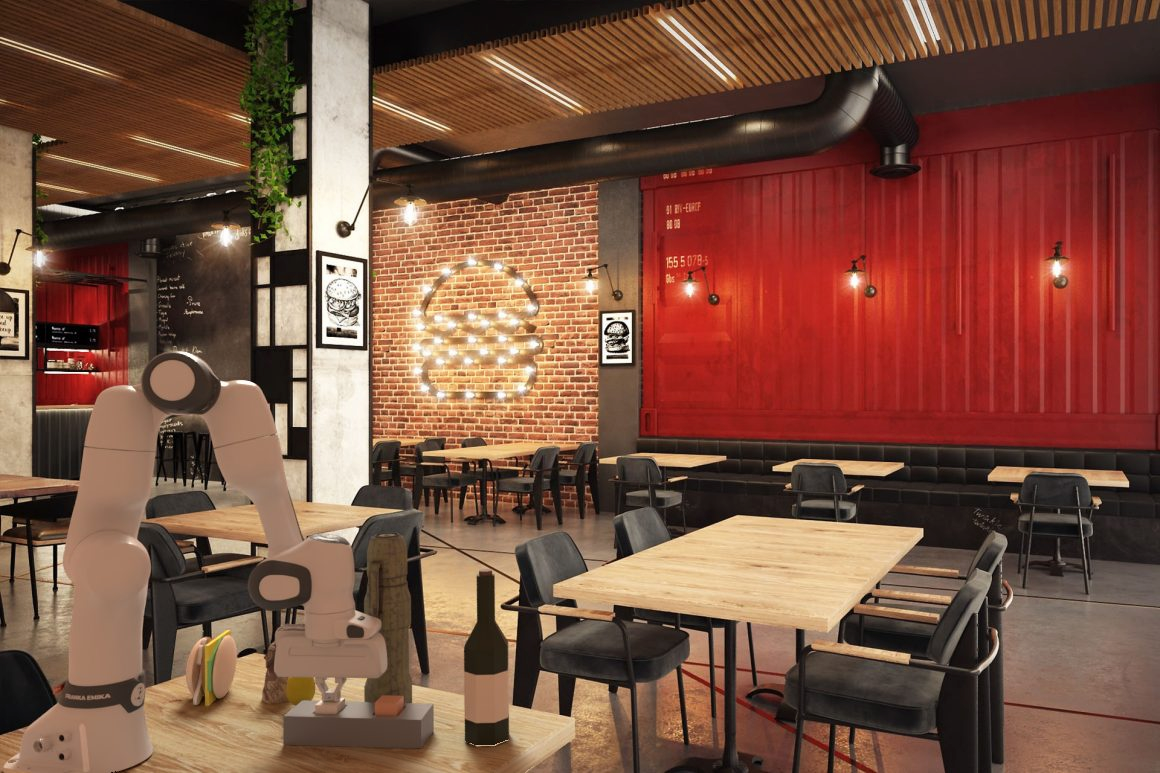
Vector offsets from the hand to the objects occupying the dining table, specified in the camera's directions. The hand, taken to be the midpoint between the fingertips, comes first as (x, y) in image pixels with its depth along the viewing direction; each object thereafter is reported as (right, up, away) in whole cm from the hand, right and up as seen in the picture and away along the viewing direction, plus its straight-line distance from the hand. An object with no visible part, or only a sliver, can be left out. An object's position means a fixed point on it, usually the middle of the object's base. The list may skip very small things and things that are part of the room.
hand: (331, 700), depth 156 cm
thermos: (+8, -7, +9) cm, 14 cm away
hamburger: (-31, -7, +23) cm, 39 cm away
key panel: (+5, -6, -1) cm, 8 cm away
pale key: (0, -4, 0) cm, 4 cm away
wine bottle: (+28, -6, -2) cm, 29 cm away
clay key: (+11, -3, -1) cm, 11 cm away
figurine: (-17, -7, +21) cm, 28 cm away
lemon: (-10, -7, +14) cm, 19 cm away
